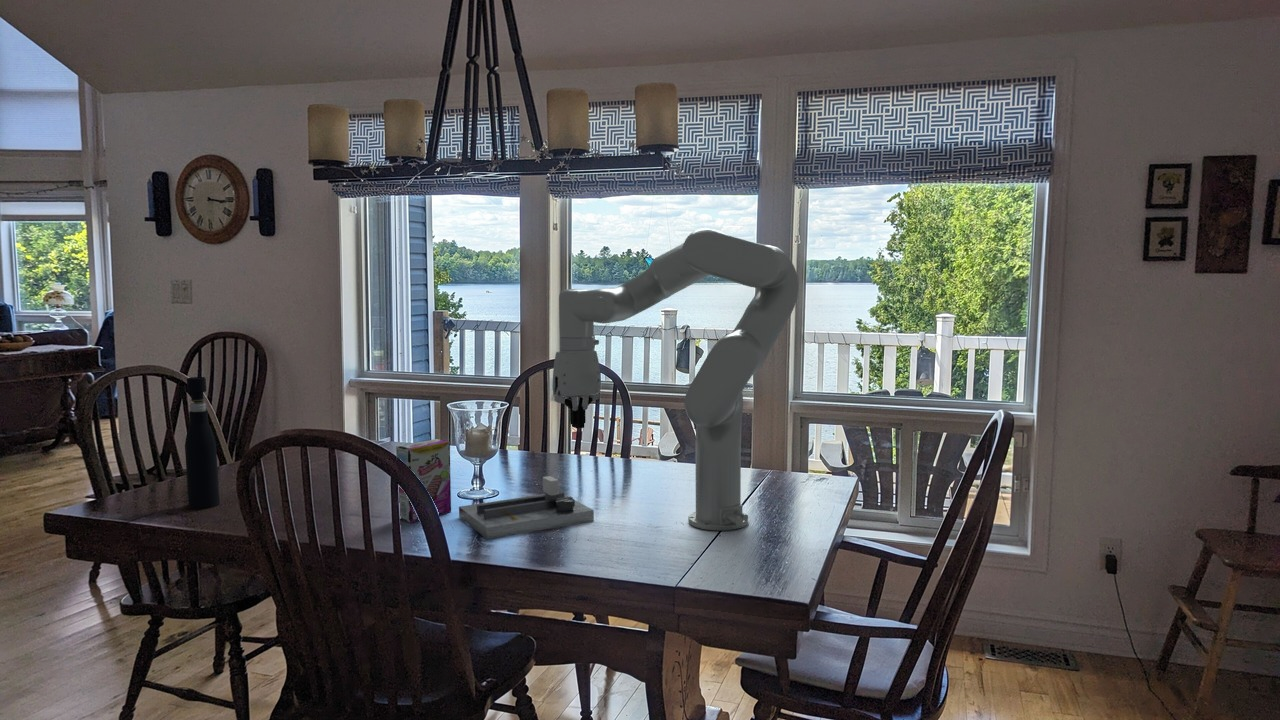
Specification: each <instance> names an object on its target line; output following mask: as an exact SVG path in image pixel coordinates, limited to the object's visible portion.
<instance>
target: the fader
mask: <svg viewBox="0 0 1280 720" xmlns="http://www.w3.org/2000/svg"><path fill="white" fill-rule="evenodd" d="M559 489H560V488H559V479H557V478H555V477H553V476H551V475H549V476H543V477H542V491H543V492H544V494H545V500H550V499H557V495H559V492H560V491H559Z"/></svg>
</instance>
